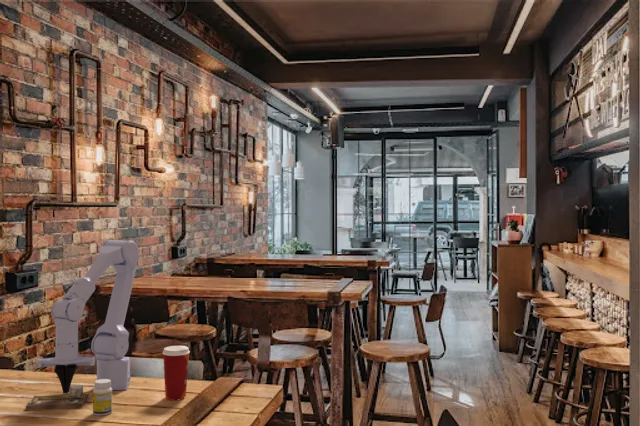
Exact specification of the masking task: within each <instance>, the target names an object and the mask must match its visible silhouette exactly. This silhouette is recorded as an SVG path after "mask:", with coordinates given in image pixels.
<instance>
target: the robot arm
mask: <svg viewBox="0 0 640 426" xmlns="http://www.w3.org/2000/svg"><path fill="white" fill-rule="evenodd" d="M139 255H140V249H139V247H138V245H137V242H135V241H134V240H130V239H129V240H120V239H119V240H118V239H117V240H116V239H115V240H114V239H106V240H104V242H102V244H101V246H100V247H99V248H98V255H97V257H96V258H95V260H94V261H93V263H92V265H91V266H90V267H89V269H88V271H87V272H86V274H85V275H84V276H82V277H78V278H77V279H75V280H74V281H73V284H72V285H71V287H70V288H69V289H68V290H67V292H66V293H65V294H64V296H63V297H62V298H59V299H57V300H56V301H55V302H54V303H53V305H52V308H51V309H50V315H51V318H53V321H54V322H53V323H54V326H55V357H47V358H39V359H38V360H37V368H43V367H55V368H54V373H55V374H56V376H57V377H58V378H57V379H58V381H59V383H60V385H61V389H62V393H69V388H70V387H71V386H72V385H71V384H72V381H73V378H74V376H75V373H76V371H77V369H78V366H80V367H81V366H91V367H92V366H93V367H94V366H95V364H96V380H99V379H109V380H111V386H110V387H111V388H112V391H116V390H117V391H124V390H128V388H129V386H130V384H131V359H130V357H129V356H125V355H126V354H127V352H128V351H129V347H130V346H129V344H130V343H129V337H130V332H129V331H128V330H127V329H126V327H124V324H125V320H126V315H127V312H128V307H129V304H130V303H129V302H130V298H131V294H132V289H133V285H134V281H135V277H136V272H137V264H138V260H139ZM110 267H112V268H113V269H114V270H115V272H116V273H115V274H116V276H115V278H114V283H113V287H112V292H111V294H110V295H111V296H110V300H109V304H108V307H107V313H106V316H105V320H104V321H105V322H104V323H103V324H101V325H100V326H99V327H98V328H97V329H96V332H95V335H94V337H93V338H92V340H91V344H90V347H91V348H90V349H91V351H92V353H93V354H94V355H95V356H79V355H78V354H79V320H80V318H81V317H83V315H84V309H85V307H86V303H87V301H88V300H89V298H91V296H92V295H93V293H94V292H95V290H96V283H97V282H98V280H99V279H100V278H101V277H102V276H103V274H104V273H105V272H106V271H107V270H108V269H109V268H110ZM93 387H94V388H93V389H92V391H93V390H94V389H95V386H93Z"/></svg>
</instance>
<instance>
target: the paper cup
mask: <svg viewBox="0 0 640 426" xmlns="http://www.w3.org/2000/svg"><path fill="white" fill-rule="evenodd" d="M190 352H191V351H190V350H189V347H188V346H186V345H170V346H166V347H164V348H163V351H162V353H161V354H162V356H163V372H164V374H163V375H164V393H165V400H168V401H179V400H178V399H181V400H183V399H182V398H184V397H185V396H186V395H187V383H188V373H189V371H188V370H189V356H190V355H189V354H190ZM185 398H186V397H185ZM185 398H184V399H185Z"/></svg>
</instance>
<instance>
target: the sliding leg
mask: <svg viewBox="0 0 640 426" xmlns="http://www.w3.org/2000/svg"><path fill="white" fill-rule="evenodd" d="M68 393H69V398H81V393H84V385H83V384H76V385H74V384H73V385H70V388H69V392H68Z"/></svg>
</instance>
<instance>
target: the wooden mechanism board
mask: <svg viewBox="0 0 640 426" xmlns="http://www.w3.org/2000/svg"><path fill="white" fill-rule="evenodd" d="M89 398H90V397H89V393H86V392H83V393H81V398H69V392H68V393H63V392H62V393H39V394H38V393H37V394H36V393H35V394H34V395H33V398H32V399H31V400H30V401H29V402H27V404H26V405H25V411H43V410H64V409H67V410H68V409H83V407H84V406H85V404H86V403H87V401H88V399H89Z"/></svg>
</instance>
